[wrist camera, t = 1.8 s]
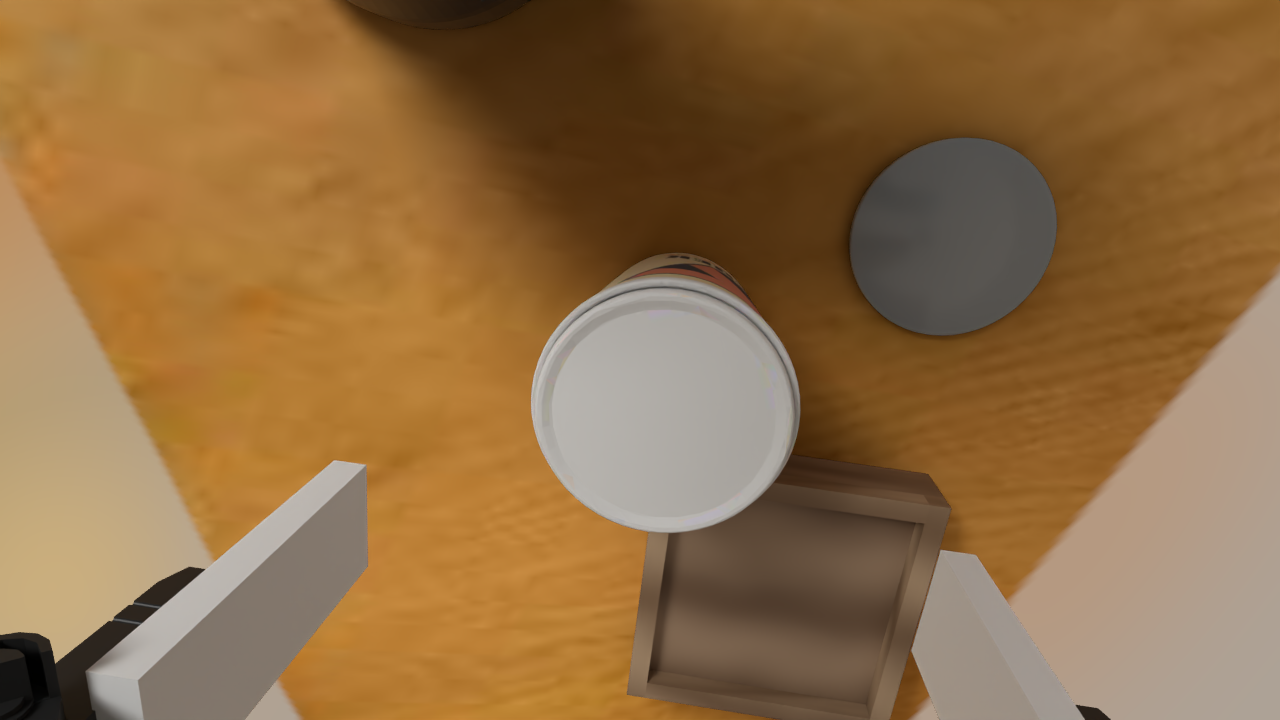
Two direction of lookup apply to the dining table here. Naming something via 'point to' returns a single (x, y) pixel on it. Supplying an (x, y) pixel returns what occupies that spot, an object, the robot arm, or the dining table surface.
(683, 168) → the dining table surface
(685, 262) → the coffee cup
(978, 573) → the robot arm
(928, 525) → the square wooden tray
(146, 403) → the dining table surface
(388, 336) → the dining table surface
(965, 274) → the slate coaster
